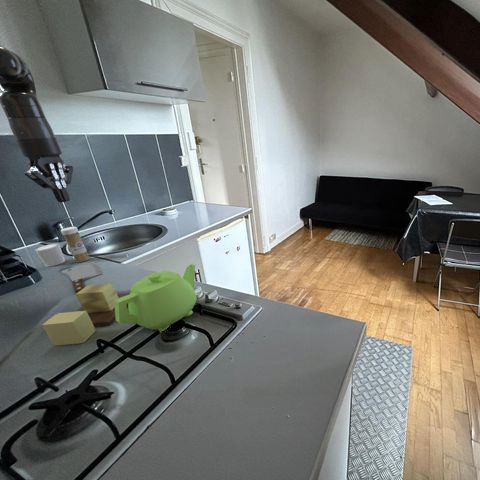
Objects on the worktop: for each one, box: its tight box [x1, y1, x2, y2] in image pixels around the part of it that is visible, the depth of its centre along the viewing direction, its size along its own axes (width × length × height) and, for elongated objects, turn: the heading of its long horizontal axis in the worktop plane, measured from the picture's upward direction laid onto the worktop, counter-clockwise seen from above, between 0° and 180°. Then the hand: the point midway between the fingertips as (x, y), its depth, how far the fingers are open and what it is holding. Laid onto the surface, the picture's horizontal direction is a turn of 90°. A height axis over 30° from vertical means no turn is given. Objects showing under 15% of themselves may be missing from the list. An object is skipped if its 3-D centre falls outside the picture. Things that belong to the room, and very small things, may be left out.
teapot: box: [114, 263, 198, 333], centre depth 64 cm, size 20×13×13 cm
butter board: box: [75, 283, 130, 328], centre depth 69 cm, size 11×13×7 cm
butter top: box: [41, 310, 97, 347], centre depth 60 cm, size 6×4×6 cm, turn 94°
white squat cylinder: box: [34, 243, 66, 268], centre depth 100 cm, size 7×7×7 cm
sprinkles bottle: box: [60, 226, 91, 263], centre depth 100 cm, size 5×5×14 cm
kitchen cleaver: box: [60, 262, 103, 294], centre depth 89 cm, size 24×1×10 cm
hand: (64, 201), depth 75 cm, fingers closed
